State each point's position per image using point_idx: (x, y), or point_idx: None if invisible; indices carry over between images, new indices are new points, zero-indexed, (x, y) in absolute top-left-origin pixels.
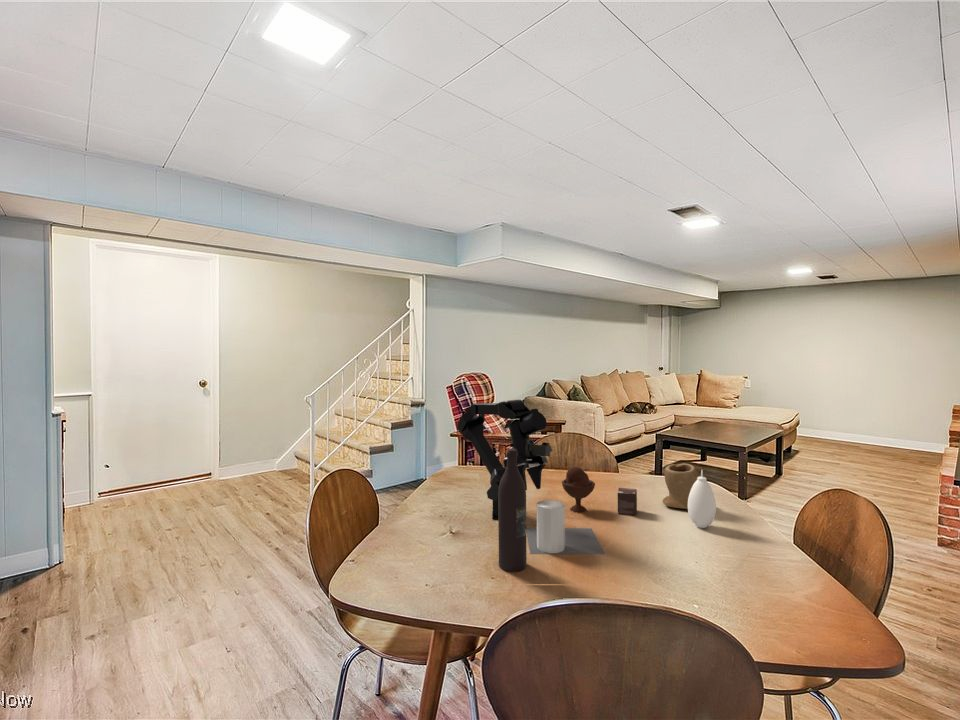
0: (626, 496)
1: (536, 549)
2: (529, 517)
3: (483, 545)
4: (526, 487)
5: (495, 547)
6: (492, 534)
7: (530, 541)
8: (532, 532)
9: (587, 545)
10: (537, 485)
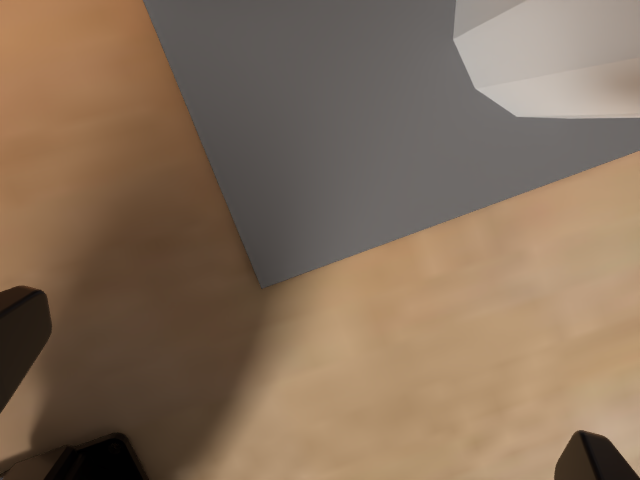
0: None
1: None
2: None
3: None
4: (615, 462)
5: (623, 372)
6: (432, 457)
7: (491, 186)
8: (325, 218)
9: None
10: (7, 355)
